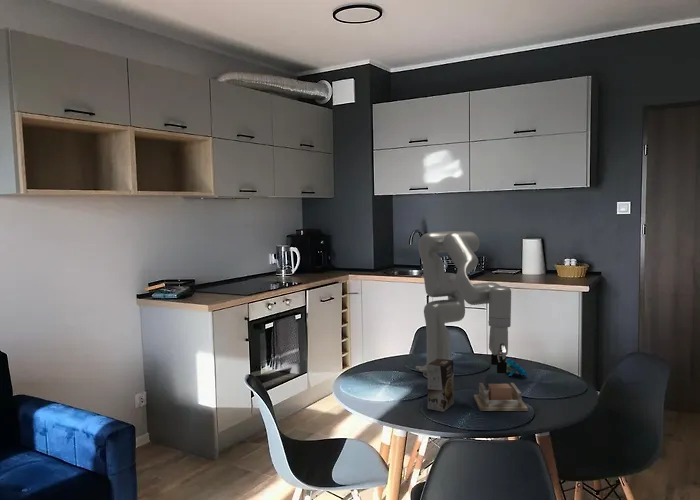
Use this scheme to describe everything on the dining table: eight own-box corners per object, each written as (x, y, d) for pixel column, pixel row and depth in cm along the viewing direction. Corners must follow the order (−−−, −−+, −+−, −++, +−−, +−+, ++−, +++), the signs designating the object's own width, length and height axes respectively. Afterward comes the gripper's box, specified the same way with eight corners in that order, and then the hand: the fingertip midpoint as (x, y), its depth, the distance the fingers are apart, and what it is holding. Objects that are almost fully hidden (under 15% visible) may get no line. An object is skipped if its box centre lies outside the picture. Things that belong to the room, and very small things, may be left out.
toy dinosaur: (532, 375, 230) (515, 358, 229) (523, 386, 229) (506, 370, 228) (519, 371, 240) (502, 355, 239) (510, 382, 239) (494, 366, 238)
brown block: (491, 403, 199) (491, 388, 199) (488, 398, 204) (488, 383, 204) (511, 403, 199) (511, 388, 199) (508, 398, 204) (508, 383, 204)
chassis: (480, 411, 195) (480, 394, 195) (473, 397, 209) (473, 381, 209) (527, 411, 194) (527, 394, 194) (517, 397, 208) (517, 381, 208)
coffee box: (444, 412, 195) (444, 366, 194) (427, 409, 199) (426, 363, 197) (454, 404, 203) (454, 359, 202) (437, 401, 206) (437, 357, 205)
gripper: (484, 316, 208) (483, 361, 210) (493, 327, 191) (492, 376, 193) (504, 316, 208) (503, 361, 210) (516, 327, 191) (515, 376, 192)
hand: (498, 368), depth 201 cm, fingers open, 9 cm apart
